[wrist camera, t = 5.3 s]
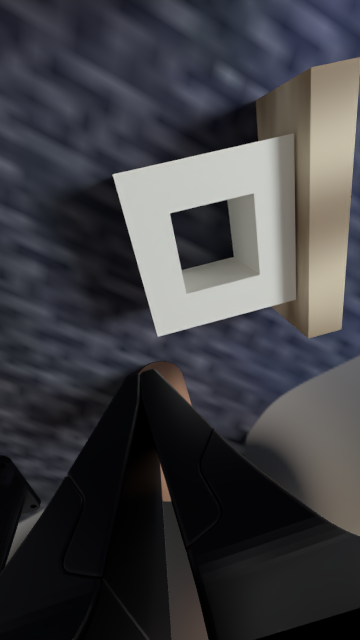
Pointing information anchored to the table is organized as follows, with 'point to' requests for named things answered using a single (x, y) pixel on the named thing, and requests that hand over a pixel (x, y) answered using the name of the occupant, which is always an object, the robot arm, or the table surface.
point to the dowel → (178, 383)
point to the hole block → (245, 222)
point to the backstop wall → (317, 184)
